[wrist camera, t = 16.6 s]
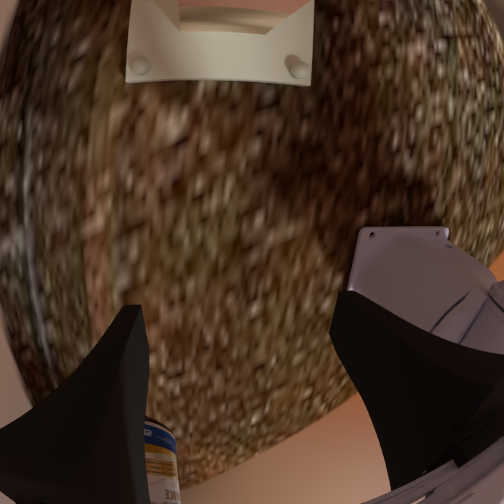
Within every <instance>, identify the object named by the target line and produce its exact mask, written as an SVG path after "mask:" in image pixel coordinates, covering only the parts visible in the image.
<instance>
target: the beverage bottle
mask: <svg viewBox="0 0 504 504" xmlns="http://www.w3.org/2000/svg"><path fill="white" fill-rule="evenodd" d="M144 441H145V458H146V470H147V480H148V488H149V496H150V503H151V504H181V501H180V492H179V484H178V476H177V466H176V442H175V438H174V436H173V435H172V433H171V432H170V431H168V430H167V429H166V428H164V427H162V426H160V425H158V424H155V423H152V422H149V421H145V426H144Z"/></svg>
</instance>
